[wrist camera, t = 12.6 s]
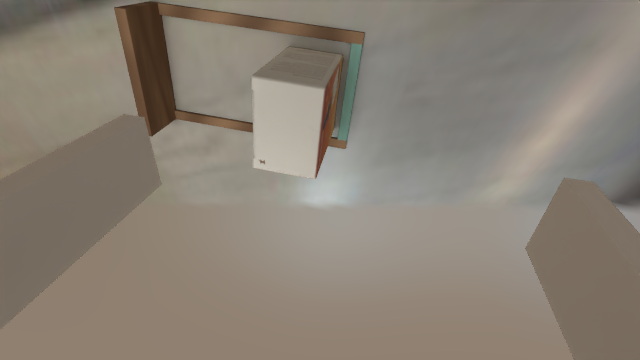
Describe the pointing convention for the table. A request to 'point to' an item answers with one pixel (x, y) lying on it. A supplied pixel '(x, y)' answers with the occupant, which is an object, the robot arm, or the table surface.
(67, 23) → the table surface
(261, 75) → the small box
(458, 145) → the table surface
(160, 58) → the bay
